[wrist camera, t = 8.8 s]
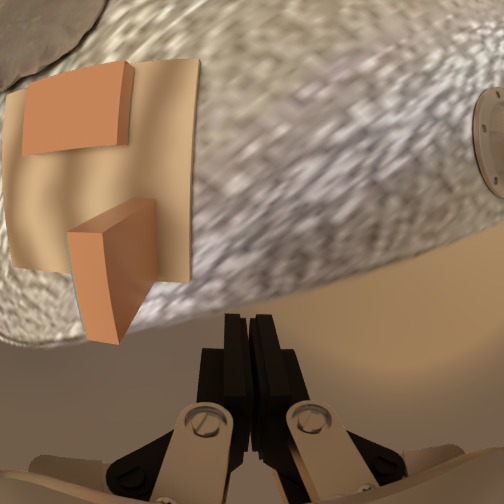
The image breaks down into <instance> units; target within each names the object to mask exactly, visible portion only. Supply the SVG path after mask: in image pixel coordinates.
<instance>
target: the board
mask: <svg viewBox="0 0 504 504" xmlns="http://www.w3.org/2000/svg"><path fill="white" fill-rule="evenodd" d="M130 65H132V66H133V67H134V75H133V83H132V92H131V102H130V113H129V127H128V145H122V146H107V147H95V148H85V149H76V150H67V151H59V152H52V153H45V154H39V155H30V156H22V139H23V123H24V111H25V102H26V94H27V88H24V89H22V90H19V91H16V92H13V93H11V94H8V95H7V97H6V105H5V114H4V125H3V143H2V180H3V198H4V210H5V219H6V227H7V235H8V241H9V247H10V253H11V258H12V263H13V267H16V268H25V269H33V270H42V271H51V272H60V273H69V274H71V269H70V263H69V256H68V249H67V241H66V236H67V232H68V231H69V230H71V229H73V228H75V227H77V226H79V225H80V224H82V223H84V222H86V221H88V220H90V219H92V218H94V217H96V216H97V215H99V214H101V213H103V212H105V211H107V210H109V209H111V208H113V207H115V206H117V205H119V204H121V203H123V202H126V201H128V200H130V199H156V227H157V256H158V274H159V276H158V277H157V279H156V281H165V282H180V283H190V280H191V211H192V176H193V154H194V136H195V121H196V108H197V96H198V85H199V75H200V65H201V62H200V60H199V59H173V60H159V61H148V62H139V63H131V64H130Z"/></svg>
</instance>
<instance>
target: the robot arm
mask: <svg viewBox="0 0 504 504" xmlns="http://www.w3.org/2000/svg"><path fill="white" fill-rule="evenodd" d="M473 131H474V144H475V151H476V156H477V160H478V164H479V167H480V170H481V173H482V176H483V178H484V180H485V182H486V184H487V185H488V187H489V188H490V190H491V191H492V192H493V193H494V194H495V195H496V196H498V197H500V198H503V199H504V88H501V87H493V88H489V89H487V90H485V91H484V92H483V93H482V94H481V96H480V98H479V99H478V102H477V105H476V108H475V114H474V127H473ZM250 433H251V443H252V451H255V452H256V451H258V453H259V459H263V462H264V463H265V464H267V465H268V466H270V467H272V472H273V476H274V478H275V481H276V484H277V487H278V489H279V493H280V495H281V498H282V501H283V503H284V504H504V447H488V448H483V449H479V450H474V451H471V452H469V453H466V454H465V453H464V451H463V449H461V448H460V447H459V446H457V445H454V444H446V445H441V446H436V447H429V448H422V449H415V450H404V451H403V452H402V453H401V454H398V453H396V452H394V451H392V450H390V449H388V448H385V447H383V446H381V445H378V444H376V443H374V442H371V441H369V440H367V439H364V438H362V437H360V436H358V435H356V434H353V433H351V432H349V431H347V430H345V428H344V426H343V425H342V423H341V421H340V420H339V418H338V416H337V415H336V413H335V412H334V411H333V410H332V408H331V407H329V406H328V405H326V404H324V403H322V402H319V401H312V400H310V398H309V395H308V393H307V389H306V386H305V383H304V380H303V376H302V373H301V370H300V367H299V364H298V360H297V357H296V354H295V352H294V350H293V349H280V345H279V341H278V337H277V334H276V329H275V325H274V322H273V318H272V315H266V314H265V315H264V314H257V315H256V318H250V326H249V339H248V334H247V325H246V318H240V314H225V328H224V349H211V348H203V349H202V355H201V363H200V372H199V382H198V392H197V402H196V403H194V404H192V405H190V406H188V407H186V408H185V409H184V410H183V411H182V412H181V414H180V415H179V418H178V420H177V423H176V426H175V429H174V430H172V431H170V432H169V433H167V434H165V435H164V436H162V437H160V438H158V439H156V440H155V441H153V442H151V443H149V444H147V445H145V446H144V447H142V448H140V449H138V450H136V451H134V452H132V453H130V454H128V455H126V456H124V457H122V458H120V459H118V460H116V461H115V462H114V463H112V464H105V463H103V462H102V461H99V460H84V459H73V458H65V457H58V456H51V455H40V456H38V457H36V458H34V459H33V460H32V461H31V463H30V466H29V470H28V472H27V471H20V470H0V504H227V498H228V491H229V486H230V479H231V472H232V471H233V470H235V469H236V468H237V467H238V466H240V465H241V464H242V463H243V455H244V452H248V444H249V436H250Z"/></svg>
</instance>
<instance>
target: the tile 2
mask: <svg viewBox="0 0 504 504" xmlns="http://www.w3.org/2000/svg"><path fill="white" fill-rule="evenodd" d="M66 241H67V249H68V256H69V263H70V269H71V275H72V281H73V286H74V291H75V296H76V300H77V305H78V309H79V314H80V318H81V322H82V326H83V329H84V331H85V332H86V336H87V340H93V341H99V342H105V343H111V344H117V345H119V344H120V343H121V341H122V339H123V337H124V335H125V333H126V331H127V330H128V328H129V326H130V324H131V322H132V321H133V319H134V317H135V315H136V313H137V312H138V310H139V308H140V306H141V305H142V303H143V301H144V299H145V298H146V296H147V294H148V292H149V291H150V289H151V287H152V286H153V284H154V282H155V281H156V279H157V277H158V276H159V274H158V256H157V227H156V199H130V200H128V201H126V202H123V203H121V204H119V205H117V206H115V207H113V208H111V209H109V210H107V211H105V212H103V213H101V214H99V215H97V216H96V217H94V218H92V219H90V220H88V221H86V222H84V223H82V224H80V225H79V226H77V227H75V228H73V229H71V230H69V231H68V232H67V236H66Z"/></svg>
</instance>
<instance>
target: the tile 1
mask: <svg viewBox="0 0 504 504" xmlns="http://www.w3.org/2000/svg"><path fill="white" fill-rule="evenodd" d="M133 75H134V67H133V66H132V65H130V64H129V63H128V62H126V61H125V60H123V61H117V62H111V63H105V64H100V65H95V66H90V67H85V68H81V69H77V70H73V71H69V72H65V73H61V74H58V75H54V76H51V77H47V78H44V79H41V80H38V81H35V82H32V83H29V84H28V87H27V94H26V102H25V111H24V123H23V139H22V156H30V155H39V154H45V153H52V152H59V151H67V150H76V149H85V148H95V147H107V146H122V145H128V127H129V113H130V102H131V92H132V83H133Z"/></svg>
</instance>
